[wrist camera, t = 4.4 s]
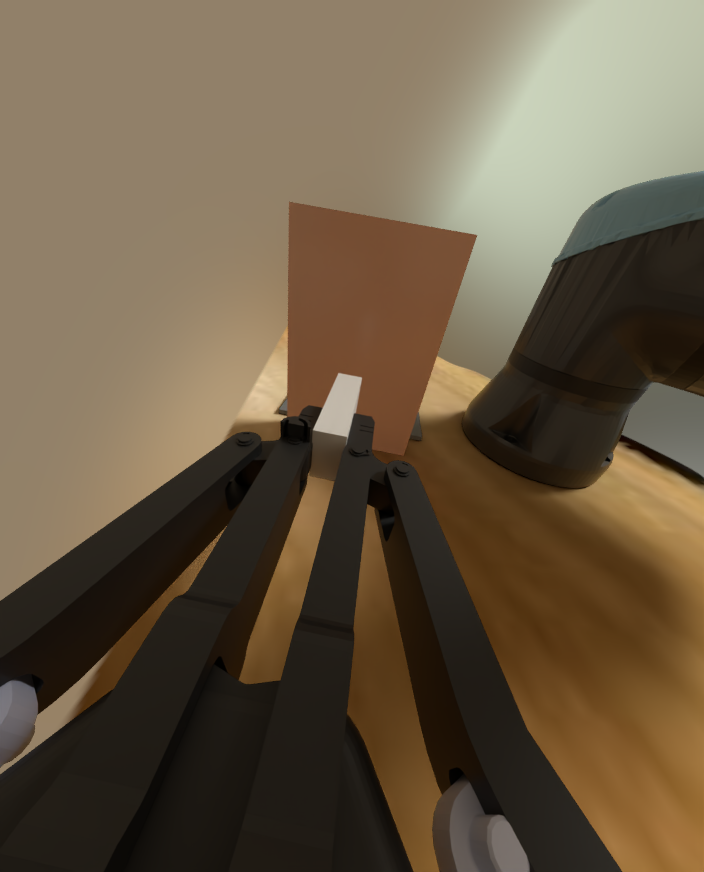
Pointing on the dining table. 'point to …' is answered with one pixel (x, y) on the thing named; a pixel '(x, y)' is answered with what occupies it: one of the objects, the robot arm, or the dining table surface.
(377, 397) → the tile
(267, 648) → the dining table surface
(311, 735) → the robot arm
